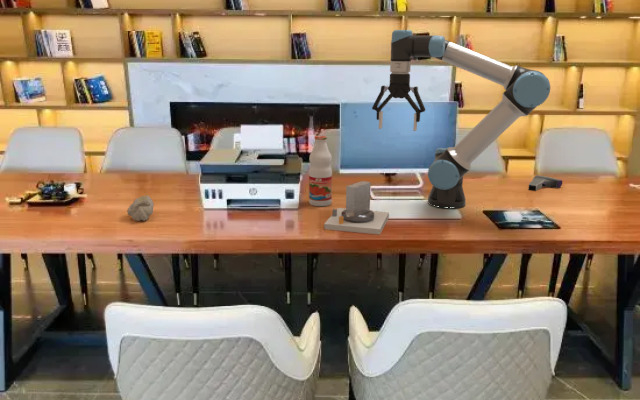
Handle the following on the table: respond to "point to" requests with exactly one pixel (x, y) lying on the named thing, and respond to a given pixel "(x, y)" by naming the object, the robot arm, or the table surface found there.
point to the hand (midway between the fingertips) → (397, 129)
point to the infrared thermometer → (544, 182)
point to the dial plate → (356, 223)
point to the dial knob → (358, 203)
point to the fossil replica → (141, 208)
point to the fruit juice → (320, 173)
